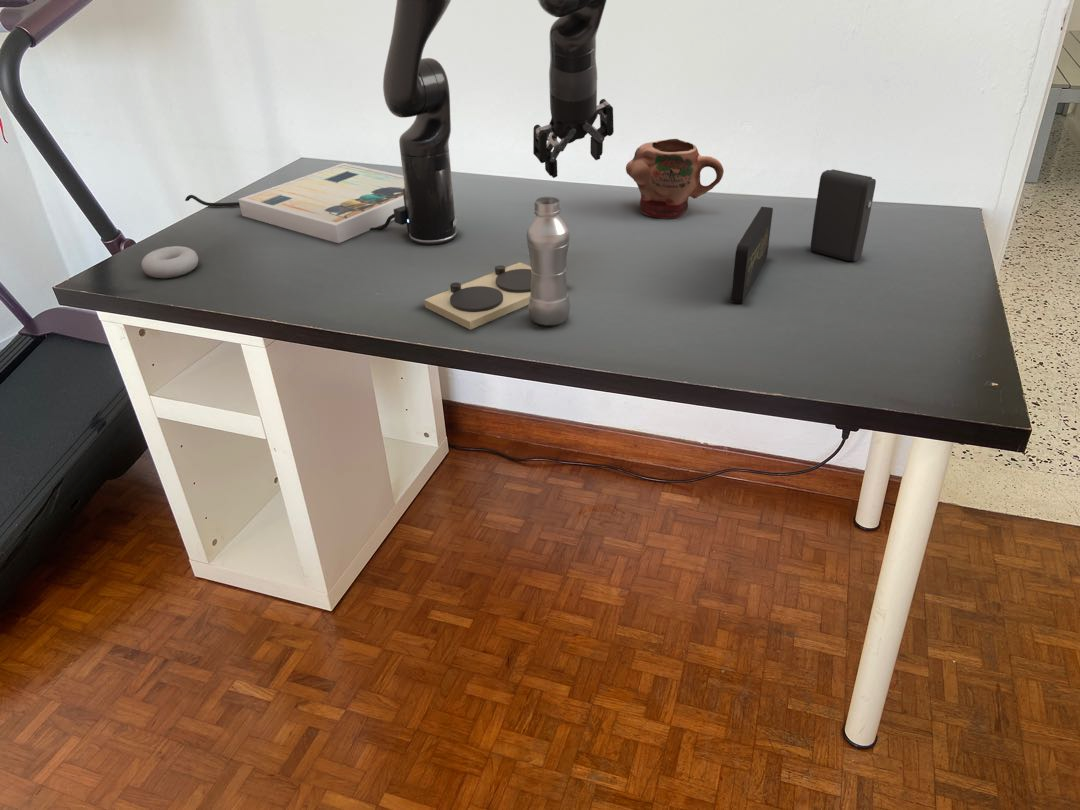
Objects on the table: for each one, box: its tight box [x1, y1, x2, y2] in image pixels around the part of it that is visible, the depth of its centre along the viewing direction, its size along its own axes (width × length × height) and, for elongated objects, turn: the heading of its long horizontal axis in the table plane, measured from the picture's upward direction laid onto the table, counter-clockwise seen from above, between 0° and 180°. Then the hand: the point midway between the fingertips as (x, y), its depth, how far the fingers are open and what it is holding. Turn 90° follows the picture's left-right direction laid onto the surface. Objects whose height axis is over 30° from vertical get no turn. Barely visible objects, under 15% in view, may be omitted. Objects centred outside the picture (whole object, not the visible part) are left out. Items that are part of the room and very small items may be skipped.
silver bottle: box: [526, 196, 571, 327], centre depth 130 cm, size 6×7×20 cm
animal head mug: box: [625, 138, 725, 219], centre depth 173 cm, size 20×12×14 cm, turn 77°
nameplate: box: [730, 206, 774, 304], centre depth 144 cm, size 21×2×10 cm, turn 156°
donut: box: [141, 245, 199, 279], centre depth 157 cm, size 10×4×10 cm
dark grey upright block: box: [810, 168, 877, 262], centre depth 151 cm, size 9×4×15 cm, turn 47°
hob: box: [424, 261, 532, 331], centre depth 143 cm, size 12×22×3 cm, turn 134°
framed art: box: [238, 162, 405, 244], centre depth 184 cm, size 30×4×30 cm
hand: (574, 165), depth 146 cm, fingers open, 8 cm apart
